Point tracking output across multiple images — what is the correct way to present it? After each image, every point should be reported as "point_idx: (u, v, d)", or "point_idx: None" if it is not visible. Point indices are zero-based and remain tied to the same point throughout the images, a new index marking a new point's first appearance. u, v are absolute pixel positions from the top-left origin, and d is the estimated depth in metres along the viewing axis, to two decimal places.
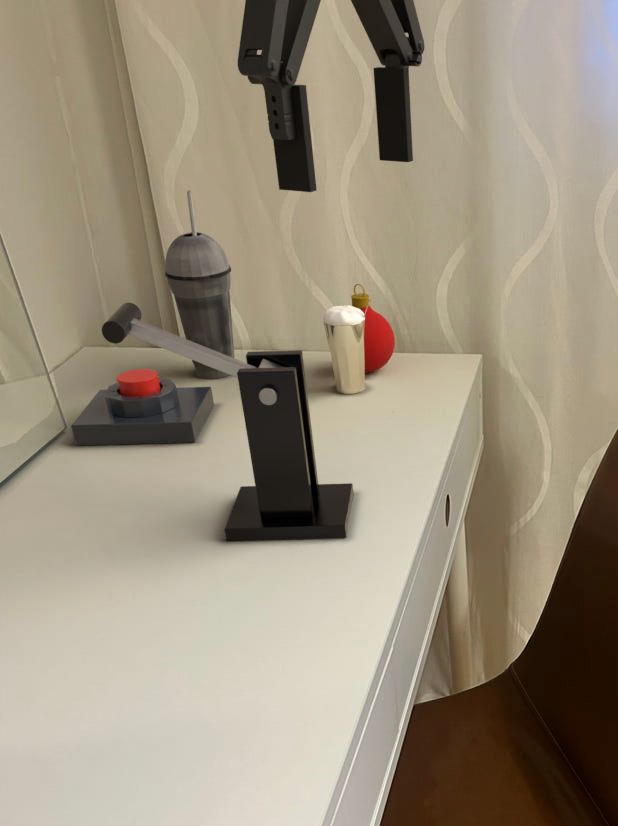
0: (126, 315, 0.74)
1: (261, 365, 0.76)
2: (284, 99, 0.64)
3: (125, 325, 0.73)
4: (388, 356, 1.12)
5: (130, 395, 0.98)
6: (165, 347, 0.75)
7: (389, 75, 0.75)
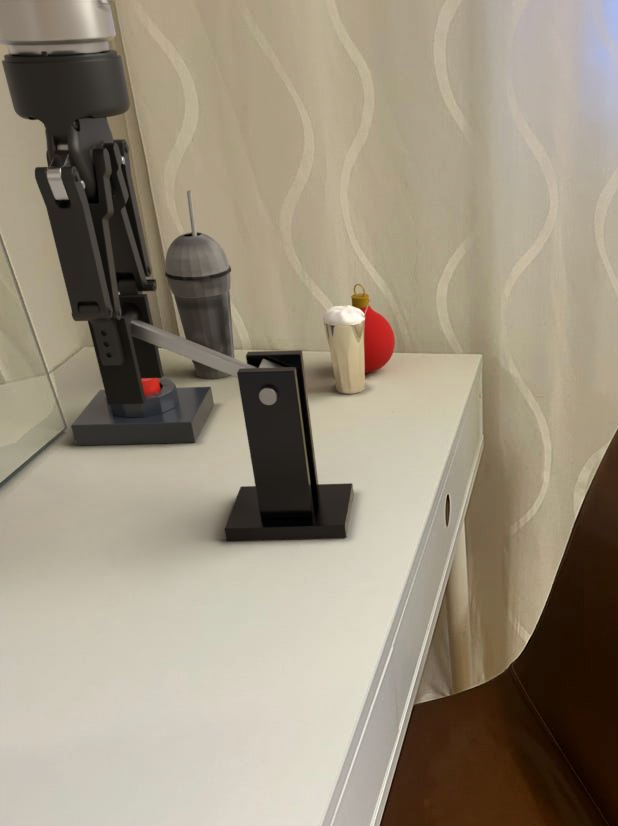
0: None
1: (261, 365, 0.76)
2: (114, 332, 0.71)
3: None
4: (388, 356, 1.12)
5: None
6: (165, 347, 0.75)
7: None
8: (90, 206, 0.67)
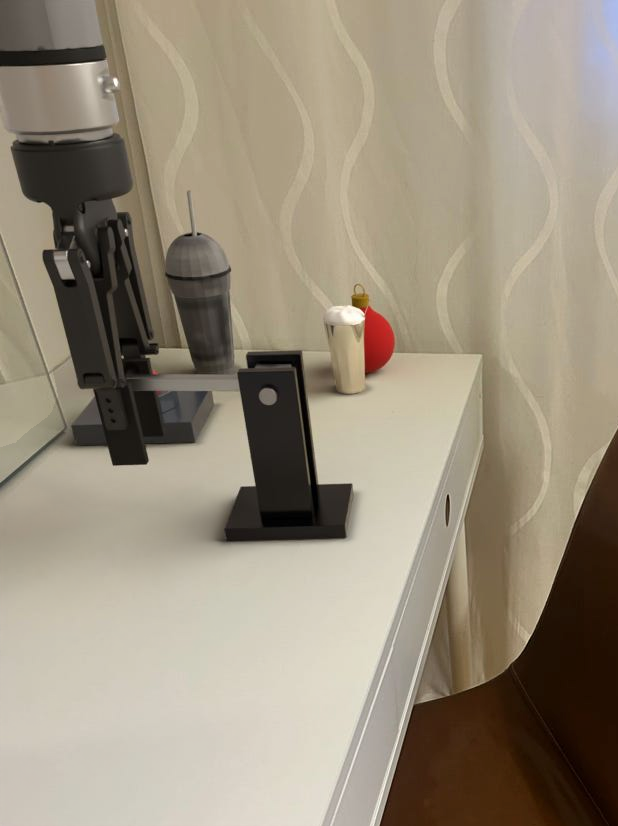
0: None
1: None
2: (118, 399, 0.73)
3: None
4: (388, 356, 1.12)
5: None
6: (165, 389, 0.77)
7: None
8: (95, 282, 0.70)
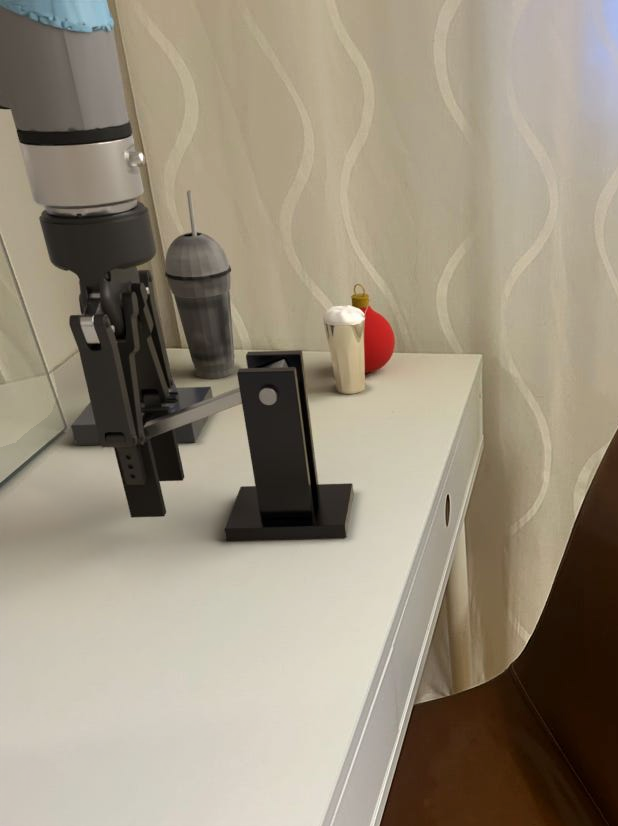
0: None
1: None
2: (137, 455, 0.76)
3: None
4: (388, 356, 1.12)
5: None
6: (180, 424, 0.79)
7: None
8: (118, 344, 0.72)
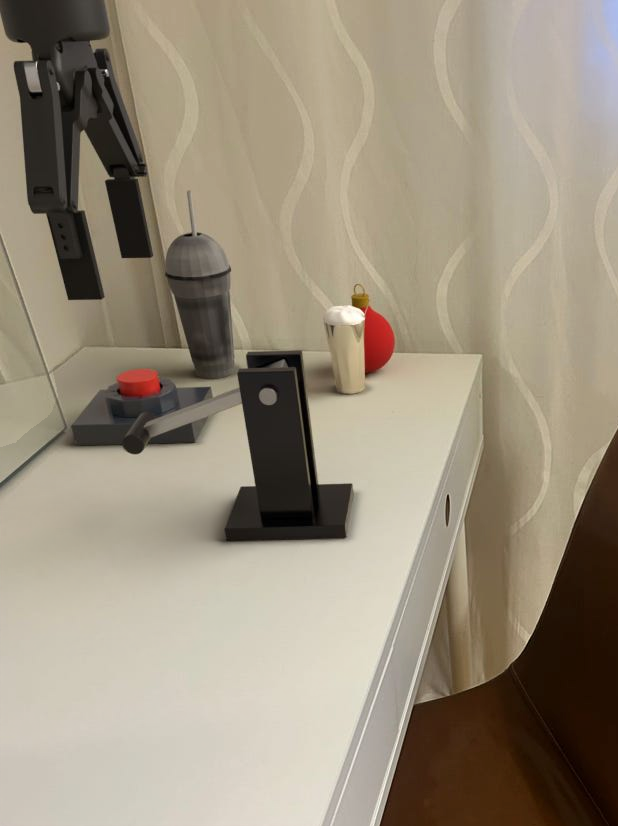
0: (137, 424, 0.79)
1: None
2: (70, 225, 0.73)
3: (138, 432, 0.78)
4: (388, 356, 1.12)
5: (130, 395, 0.98)
6: (180, 424, 0.79)
7: (121, 186, 0.85)
8: (65, 112, 0.73)
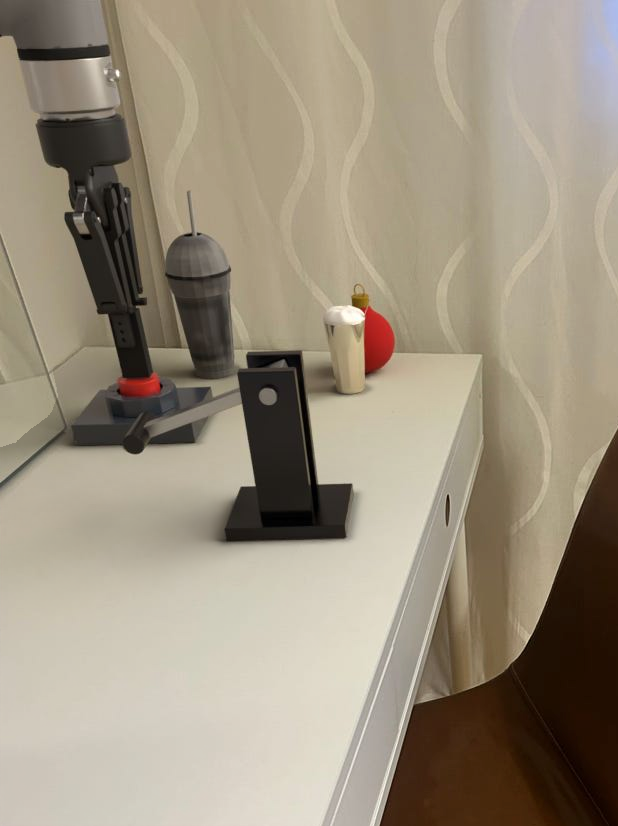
0: (137, 424, 0.79)
1: None
2: (127, 322, 0.94)
3: (138, 432, 0.78)
4: (388, 356, 1.12)
5: None
6: (180, 424, 0.79)
7: None
8: (104, 232, 0.89)
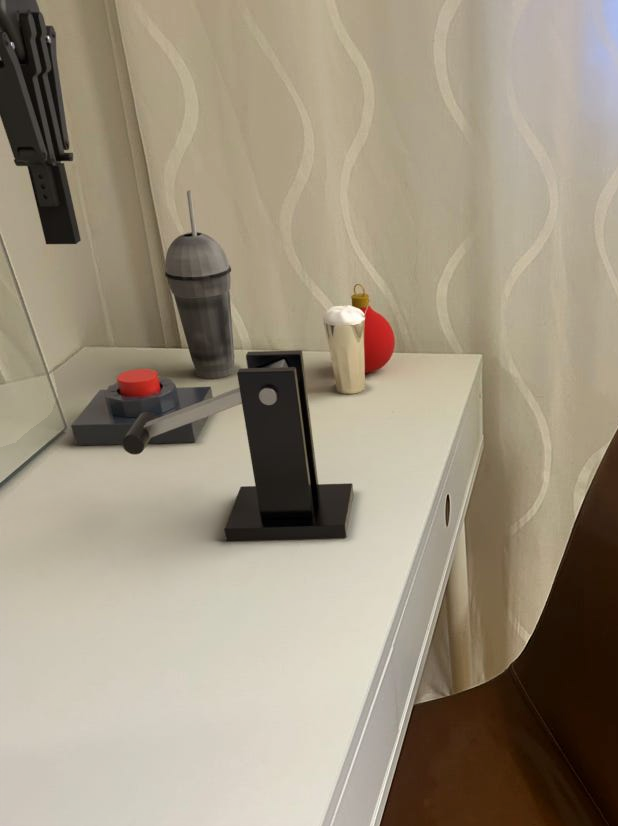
0: (137, 424, 0.79)
1: None
2: (49, 176, 0.85)
3: (138, 432, 0.78)
4: (388, 356, 1.12)
5: (130, 395, 0.98)
6: (180, 424, 0.79)
7: None
8: (21, 66, 0.80)
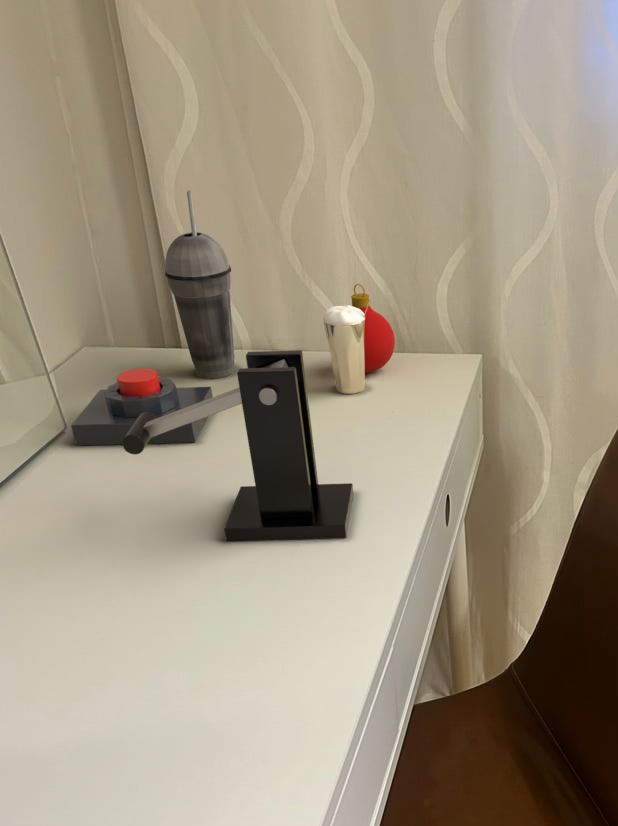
0: (137, 424, 0.79)
1: None
2: None
3: (138, 432, 0.78)
4: (388, 356, 1.12)
5: (130, 395, 0.98)
6: (180, 424, 0.79)
7: None
8: None
